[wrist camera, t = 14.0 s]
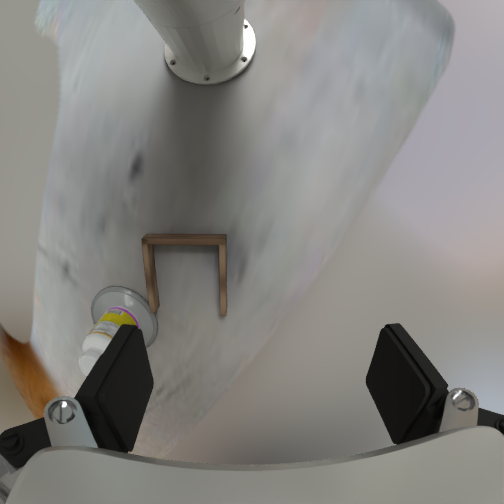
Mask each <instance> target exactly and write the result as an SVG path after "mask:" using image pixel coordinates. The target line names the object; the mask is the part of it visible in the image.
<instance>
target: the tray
mask: <svg viewBox="0 0 504 504" xmlns="http://www.w3.org/2000/svg"><path fill="white" fill-rule="evenodd" d="M113 306H123V307H125V308H128V309H129V310H131V311H132V312H133V313H134V314H135V315H136V317H137V318H138V320H139V323H140V329H141V330H142V332H143V337H144V342H145V347H148V346H149V345H150V344H151V343H152V342H153V340H154V339H155V337H156V334H157V330H158V323H157V318H156V315H155V313H150V306H149V303H148V302H147V301H146V300H145V299H144V298H143V297H142V296H140V295H139V294H138V293H136V292H134V291H132V290H130V289H128V288H125V287H119V286H112V287H108V288H105V289H103V290H101V291H100V292H99V293H98V294H97V295H96V296H95V298H94V300H93V302H92V307H91V313H92V318H93V322H94V324H95V325H96V324H97V322H98V321H99V320H100V318H101V317H102V316H103V315H104V313H105V312H106V311H107V310H108V309H109V308H111V307H113Z"/></svg>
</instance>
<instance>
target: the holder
mask: <svg viewBox="0 0 504 504" xmlns="http://www.w3.org/2000/svg"><path fill="white" fill-rule="evenodd" d="M153 244H161V245H219V267H220V307H221V316H226V314H227V263H226V234H147V235H145V236H144V237H143V238H142V250H143V260H144V269H145V277H146V285H147V292H148V299H149V306H150V313H156V311H157V309H158V307H159V297H158V289H157V280H156V271H155V261H154V250H153Z"/></svg>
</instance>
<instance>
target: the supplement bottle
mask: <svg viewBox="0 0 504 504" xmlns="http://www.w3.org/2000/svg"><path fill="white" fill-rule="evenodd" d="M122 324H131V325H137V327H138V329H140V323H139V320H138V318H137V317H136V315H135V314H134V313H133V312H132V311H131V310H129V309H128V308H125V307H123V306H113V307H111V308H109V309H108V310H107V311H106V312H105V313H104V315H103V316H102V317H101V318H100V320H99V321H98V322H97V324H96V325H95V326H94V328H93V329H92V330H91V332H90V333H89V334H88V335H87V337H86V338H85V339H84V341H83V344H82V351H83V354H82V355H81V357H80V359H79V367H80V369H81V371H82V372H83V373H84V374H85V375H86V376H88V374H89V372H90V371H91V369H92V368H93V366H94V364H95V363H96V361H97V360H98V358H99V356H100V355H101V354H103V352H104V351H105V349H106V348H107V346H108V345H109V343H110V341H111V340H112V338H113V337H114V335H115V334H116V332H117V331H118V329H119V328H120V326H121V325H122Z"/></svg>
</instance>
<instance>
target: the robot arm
mask: <svg viewBox="0 0 504 504" xmlns="http://www.w3.org/2000/svg"><path fill="white" fill-rule="evenodd" d="M134 1H135V3H136V4H137V5H138V6H139V7H140V9H141V10H142V11H143V13H144V14H145V15H146V17H147V18H148V19H149V21H150V22H151V23H152V25H153V26H154V27H155V29H156V30H157V31H158V33H159V34H160V36H161V37H162V38H163V40H164V41H165V45H164V56H165V60H166V62H167V64H168V66H169V68H170V69H171V70H172V71H173V72H174V73H175V74H176V75H177V76H178V77H180V78H181V79H183V80H185V81H187V82H190V83H194V84H200V85H211V84H218V83H221V82H224V81H227V80H229V79H231V78H233V77H235V76H237V75H238V74H240V73H241V72H242V71H243V70H244V69H245V68H246V67H247V66H248V65H249V63H250V62H251V60H252V58H253V56H254V53H255V48H256V37H255V33H254V31H253V29H252V27H251V25H250V24H249V23H248V22H247V21H246V20H245V19H244V13H245V0H134ZM244 28H246V29H244ZM243 60H245V61H246V62H242V61H243ZM174 63H176V64H175V65H173V64H174ZM207 78H209V80H208V81H206V79H207ZM153 384H154V382H153V376H152V372H151V368H150V364H149V360H148V356H147V351H146V347H145V342H144V337H143V332H142V330H141V329H138V327H137V325H131V324H122V325H121V326H120V328H119V329H118V331H117V332H116V334H115V335H114V337H113V338H112V340H111V341H110V343H109V345H108V346H107V348H106V349H105V351H104V352H103V354H101V355H100V356H99V358H98V360H97V361H96V363H95V364H94V366H93V368H92V369H91V371H90V372H89V374H88V376H87V377H86V379H85V381H84V382H83V384H82V386H81V387H80V389H79V391H78V393H77V394H76V396H75V398H71V397H67V396H62V397H57V398H55V399H53V400H51V401H50V402H49V403H48V404H47V405H46V407H45V410H44V417H43V418H40V419H37V420H35V421H32V422H29V423H26V424H23V425H19V426H16V427H13V428H10V429H8V430H5V431H4V432H3V433H2V434H1V435H0V504H504V415H501V414H498V413H494V412H491V411H488V410H485V409H481V408H478V406H479V403H478V399H477V397H476V396H475V395H474V393H472V392H471V391H469V390H467V389H465V388H454V389H452V390H451V391H450V392H449V391H448V390H447V387H448V384H447V383H446V381H445V380H444V379H443V378H442V376H441V375H440V373H439V372H438V371H437V369H436V368H435V367H434V366H433V364H432V363H431V362H430V360H429V359H428V358H427V356H426V355H425V354H424V353H423V351H422V350H421V349H420V348H419V346H418V345H417V344H416V343H415V342H414V340H413V339H412V338H411V336H410V335H409V334H408V333H407V332H406V330H405V329H404V328H403V327H402V326H401V325H400V324H399V323H397V324H396V323H395V324H387V325H385V327H384V328H382V329H381V331H380V334H379V338H378V341H377V345H376V348H375V351H374V355H373V358H372V361H371V364H370V367H369V370H368V373H367V376H366V385H367V387H368V389H369V392H370V394H371V396H372V398H373V400H374V402H375V404H376V406H377V409H378V411H379V413H380V415H381V417H382V419H383V422H384V424H385V426H386V428H387V430H388V432H389V435H390V437H391V439H392V441H393V443H394V444H397V445H395V446H391V447H387V448H383V449H379V450H375V451H370V452H365V453H361V454H356V455H350V456H345V457H338V458H332V459H326V460H317V461H309V462H299V463H286V464H268V465H221V464H204V463H192V462H182V461H173V460H166V459H158V458H151V457H145V456H139V455H134V454H129V453H128V451H130V452H131V451H132V450H133V448H134V444H135V441H136V438H137V435H138V432H139V428H140V425H141V422H142V419H143V416H144V413H145V410H146V407H147V404H148V401H149V398H150V395H151V392H152V389H153Z"/></svg>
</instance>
